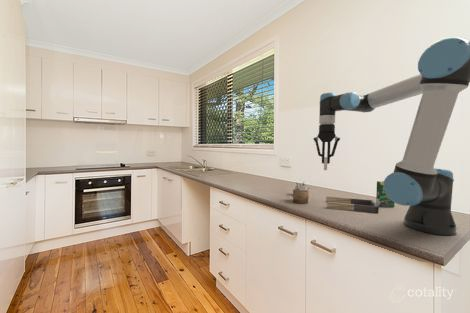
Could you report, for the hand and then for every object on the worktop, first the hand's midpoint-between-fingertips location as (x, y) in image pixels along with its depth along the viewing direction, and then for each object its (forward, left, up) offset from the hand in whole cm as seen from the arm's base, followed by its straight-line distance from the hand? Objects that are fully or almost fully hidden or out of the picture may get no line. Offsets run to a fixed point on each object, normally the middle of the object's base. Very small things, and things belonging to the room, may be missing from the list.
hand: (325, 169), depth 116 cm
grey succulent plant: (+16, +13, -19) cm, 28 cm away
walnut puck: (+1, +12, -18) cm, 22 cm away
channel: (0, -12, -18) cm, 22 cm away
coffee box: (+8, -29, -19) cm, 35 cm away
